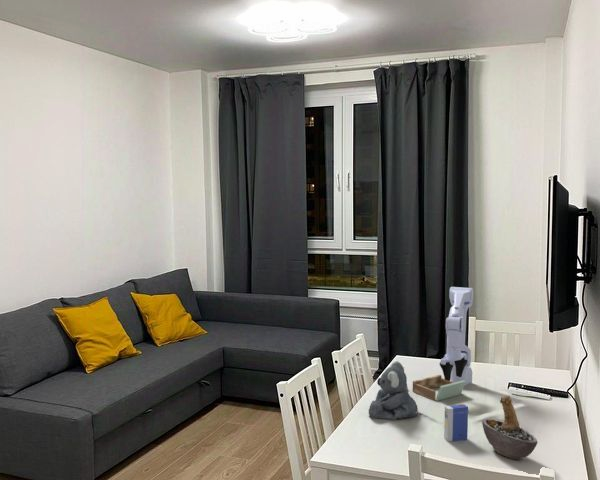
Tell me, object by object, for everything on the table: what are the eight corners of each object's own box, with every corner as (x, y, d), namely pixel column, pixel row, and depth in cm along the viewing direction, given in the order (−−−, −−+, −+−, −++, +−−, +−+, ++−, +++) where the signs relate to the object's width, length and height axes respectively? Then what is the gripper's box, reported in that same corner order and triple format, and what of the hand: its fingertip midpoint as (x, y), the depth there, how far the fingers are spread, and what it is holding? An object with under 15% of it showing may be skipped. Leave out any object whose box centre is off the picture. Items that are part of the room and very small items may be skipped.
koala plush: (376, 403, 243) (377, 356, 242) (420, 408, 237) (421, 360, 236) (366, 418, 227) (367, 368, 225) (414, 425, 221) (415, 373, 219)
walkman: (463, 436, 211) (464, 403, 210) (467, 439, 208) (468, 406, 207) (443, 438, 209) (443, 405, 208) (447, 441, 206) (447, 408, 205)
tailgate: (459, 393, 251) (463, 380, 248) (460, 395, 250) (465, 381, 248) (435, 400, 243) (440, 386, 241) (437, 401, 242) (441, 387, 240)
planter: (481, 442, 206) (483, 385, 204) (533, 448, 201) (535, 390, 199) (481, 461, 191) (483, 400, 190) (537, 468, 187) (539, 406, 185)
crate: (439, 388, 262) (439, 374, 261) (460, 395, 252) (460, 382, 251) (412, 394, 253) (412, 381, 252) (433, 403, 243) (433, 389, 242)
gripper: (456, 341, 250) (456, 372, 251) (434, 346, 241) (434, 379, 242) (471, 344, 245) (470, 376, 246) (449, 350, 236) (448, 383, 237)
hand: (453, 378), depth 244 cm, fingers open, 7 cm apart
